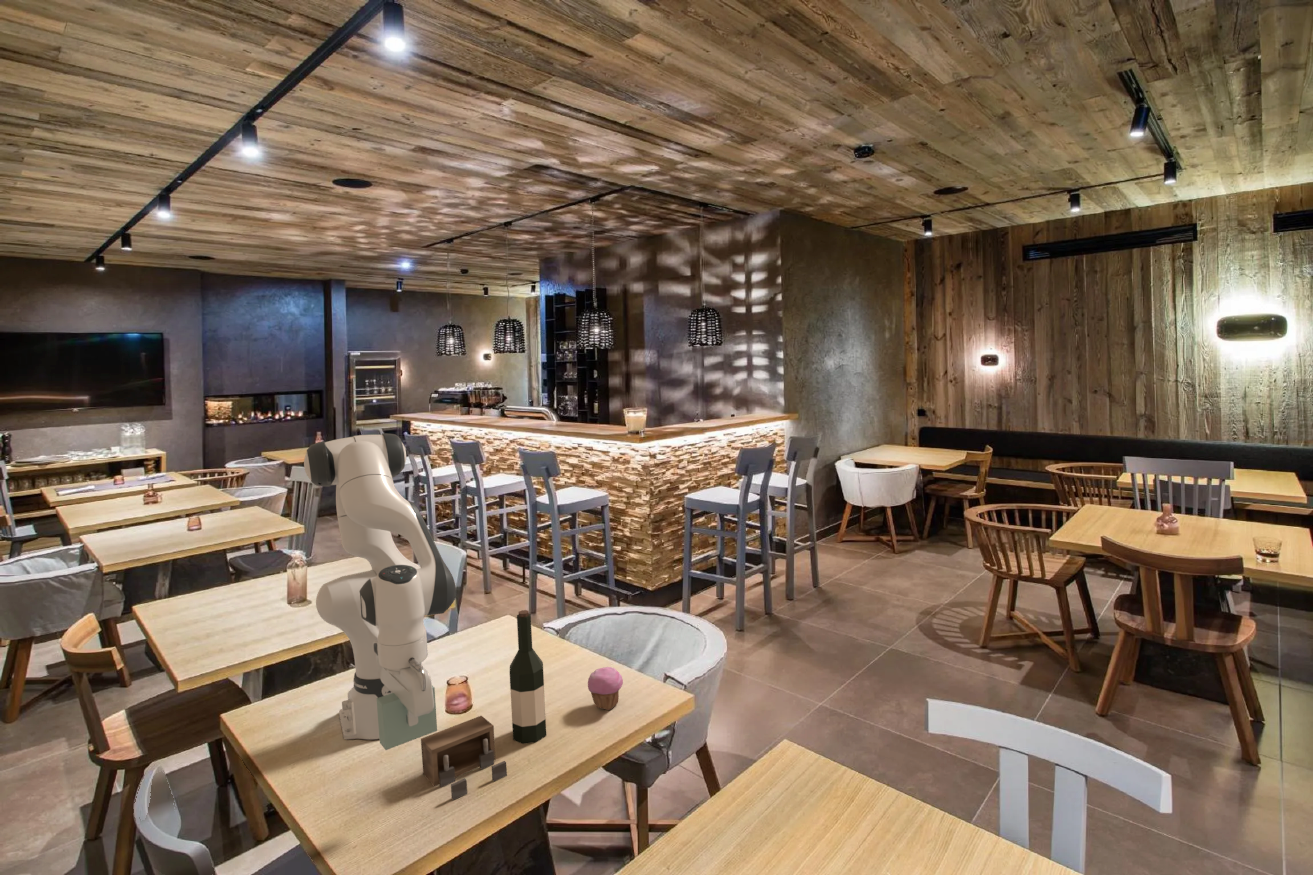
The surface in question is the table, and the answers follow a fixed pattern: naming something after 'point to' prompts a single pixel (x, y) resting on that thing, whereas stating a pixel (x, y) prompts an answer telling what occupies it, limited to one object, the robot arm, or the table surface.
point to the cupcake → (605, 687)
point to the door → (401, 722)
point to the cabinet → (460, 754)
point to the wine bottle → (527, 687)
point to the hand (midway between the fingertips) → (407, 718)
